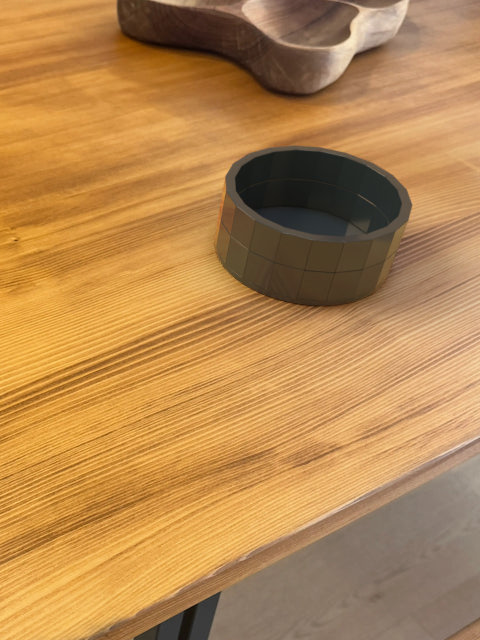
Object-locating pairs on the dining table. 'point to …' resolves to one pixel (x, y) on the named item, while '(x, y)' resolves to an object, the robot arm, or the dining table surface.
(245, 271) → the pan
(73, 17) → the dining table surface
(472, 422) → the dining table surface
